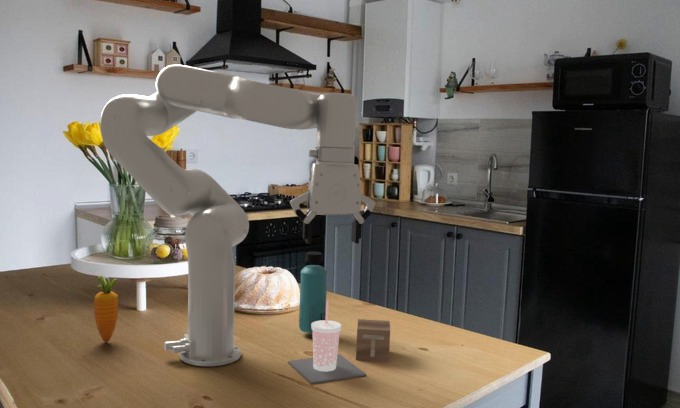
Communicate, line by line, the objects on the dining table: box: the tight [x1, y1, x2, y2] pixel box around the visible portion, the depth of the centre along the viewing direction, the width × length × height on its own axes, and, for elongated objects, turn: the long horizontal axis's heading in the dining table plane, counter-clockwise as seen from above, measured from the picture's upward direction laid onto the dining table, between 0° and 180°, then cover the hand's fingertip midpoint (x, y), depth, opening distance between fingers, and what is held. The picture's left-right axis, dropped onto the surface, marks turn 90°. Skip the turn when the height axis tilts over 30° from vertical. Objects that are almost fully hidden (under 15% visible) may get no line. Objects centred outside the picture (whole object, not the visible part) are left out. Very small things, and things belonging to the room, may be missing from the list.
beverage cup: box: [311, 299, 342, 372], centre depth 130 cm, size 6×6×14 cm
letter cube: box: [355, 318, 391, 363], centre depth 139 cm, size 7×7×7 cm
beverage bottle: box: [298, 251, 328, 334], centre depth 151 cm, size 6×7×20 cm
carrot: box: [93, 275, 119, 344], centre depth 140 cm, size 5×5×15 cm
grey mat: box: [287, 353, 367, 385], centre depth 130 cm, size 12×12×1 cm
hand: (331, 242), depth 127 cm, fingers open, 9 cm apart
